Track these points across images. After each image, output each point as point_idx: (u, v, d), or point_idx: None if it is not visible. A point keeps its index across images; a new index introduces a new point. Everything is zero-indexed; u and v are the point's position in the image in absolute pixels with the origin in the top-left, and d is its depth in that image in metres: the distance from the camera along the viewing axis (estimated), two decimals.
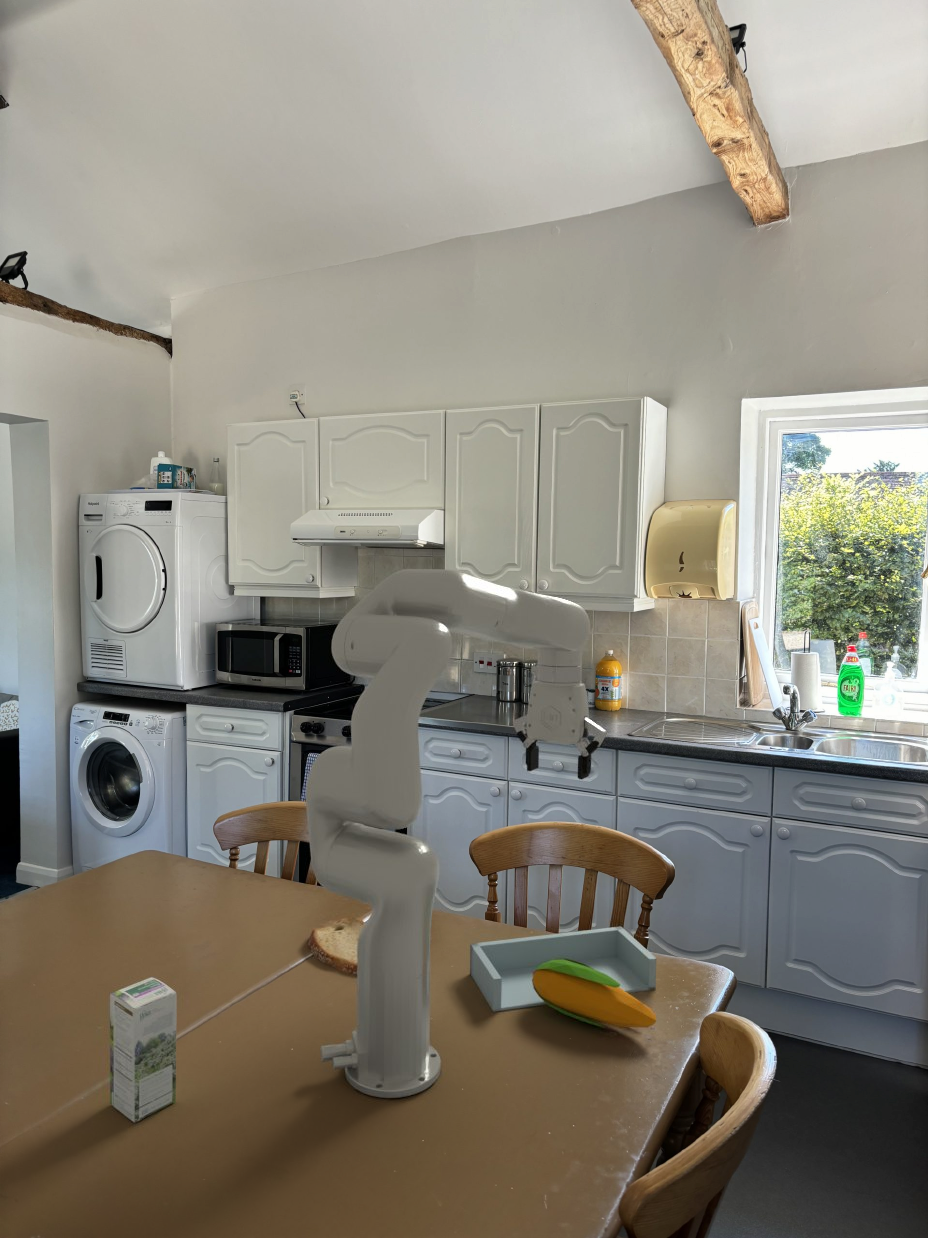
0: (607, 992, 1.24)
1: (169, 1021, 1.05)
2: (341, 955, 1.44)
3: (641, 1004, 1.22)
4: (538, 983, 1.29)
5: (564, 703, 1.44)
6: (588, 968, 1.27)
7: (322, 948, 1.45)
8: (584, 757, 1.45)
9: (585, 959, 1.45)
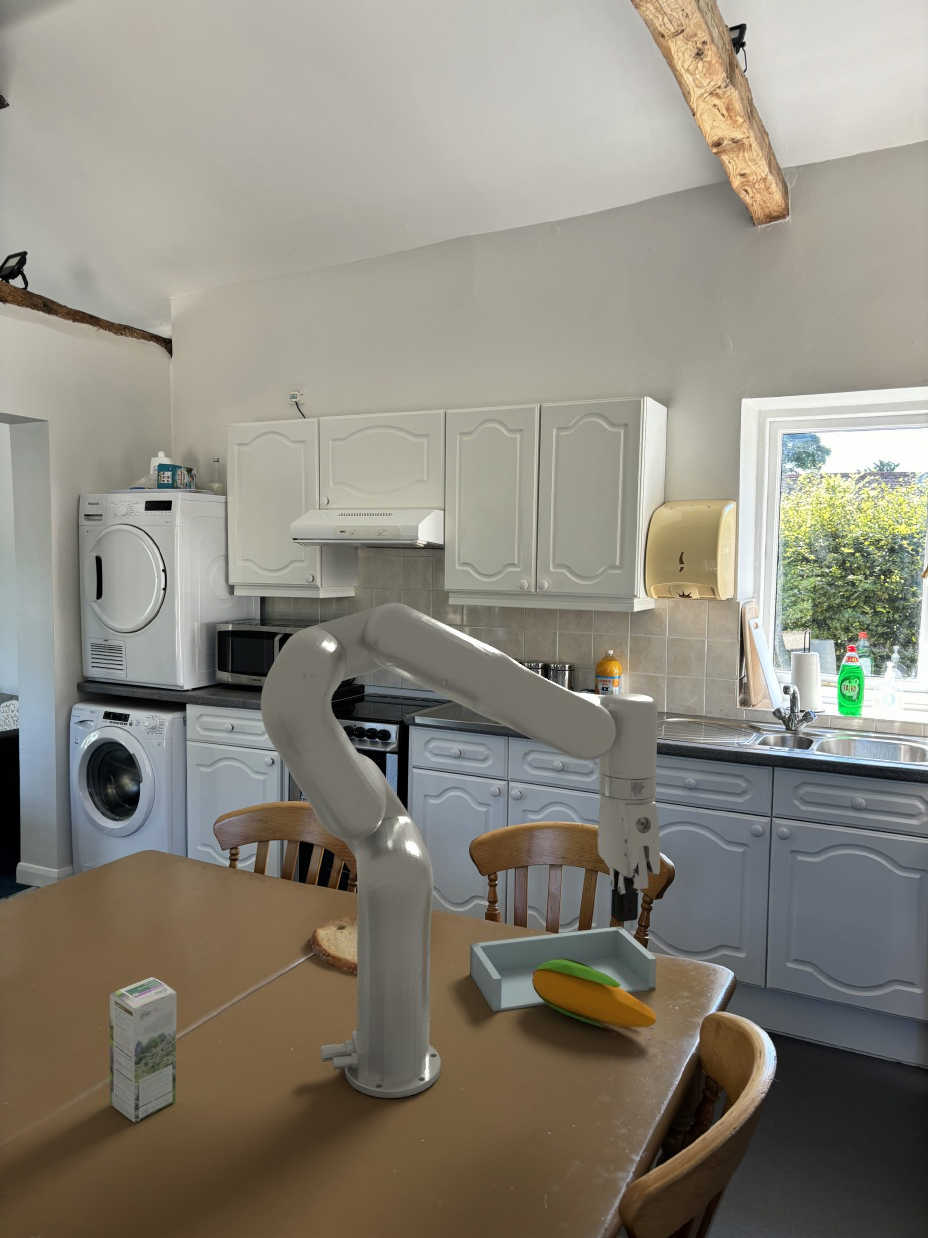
0: (607, 992, 1.24)
1: (169, 1021, 1.05)
2: (342, 954, 1.44)
3: (641, 1004, 1.22)
4: (538, 983, 1.29)
5: None
6: (588, 968, 1.27)
7: (323, 948, 1.45)
8: None
9: (585, 959, 1.45)
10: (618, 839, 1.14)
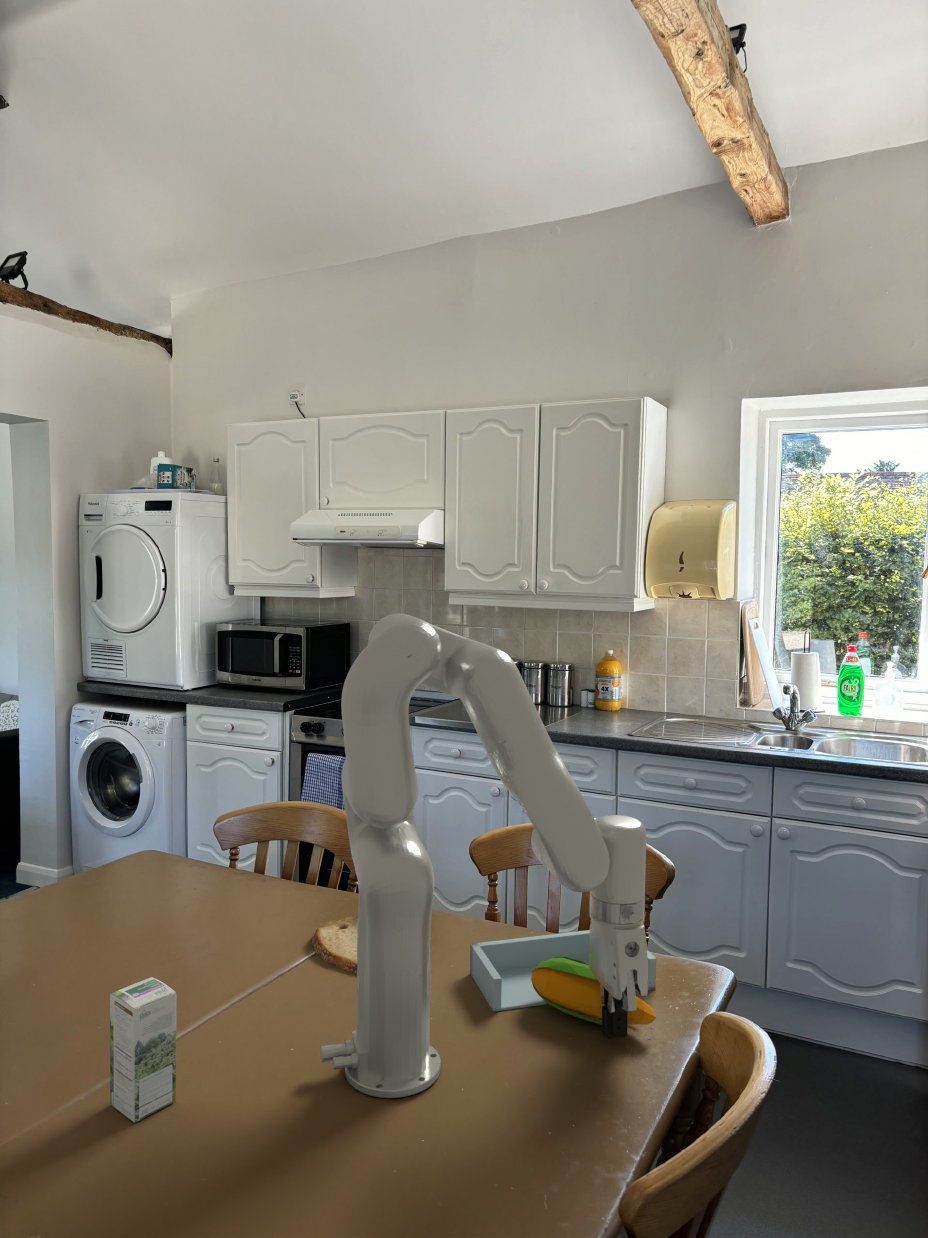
0: None
1: (169, 1021, 1.05)
2: (343, 953, 1.44)
3: (641, 1001, 1.23)
4: (537, 982, 1.30)
5: None
6: (587, 966, 1.28)
7: (325, 947, 1.46)
8: None
9: (585, 959, 1.45)
10: (607, 961, 1.17)
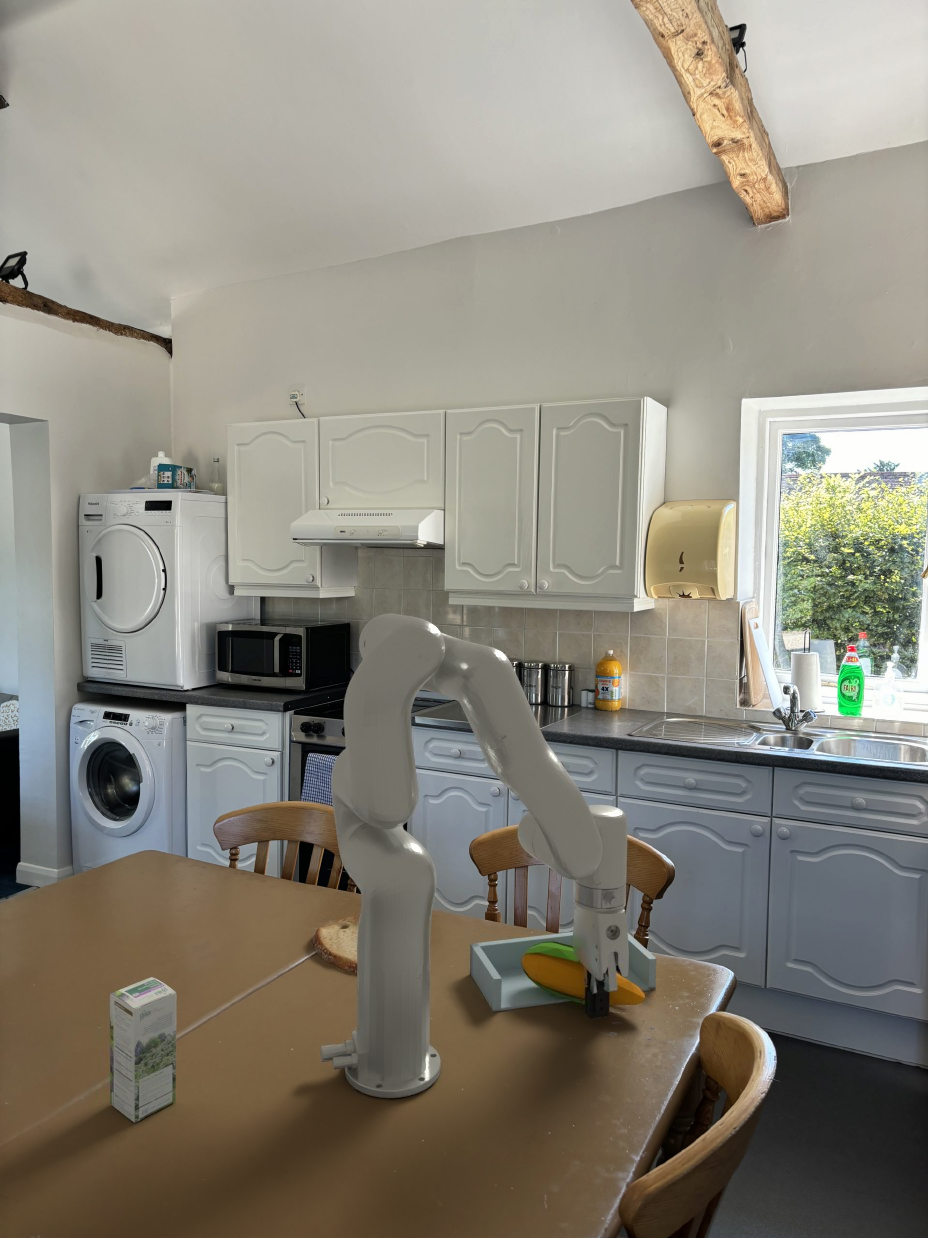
0: None
1: (169, 1021, 1.05)
2: (343, 953, 1.44)
3: (630, 983, 1.28)
4: (528, 967, 1.34)
5: None
6: None
7: (325, 946, 1.46)
8: None
9: None
10: (590, 944, 1.22)
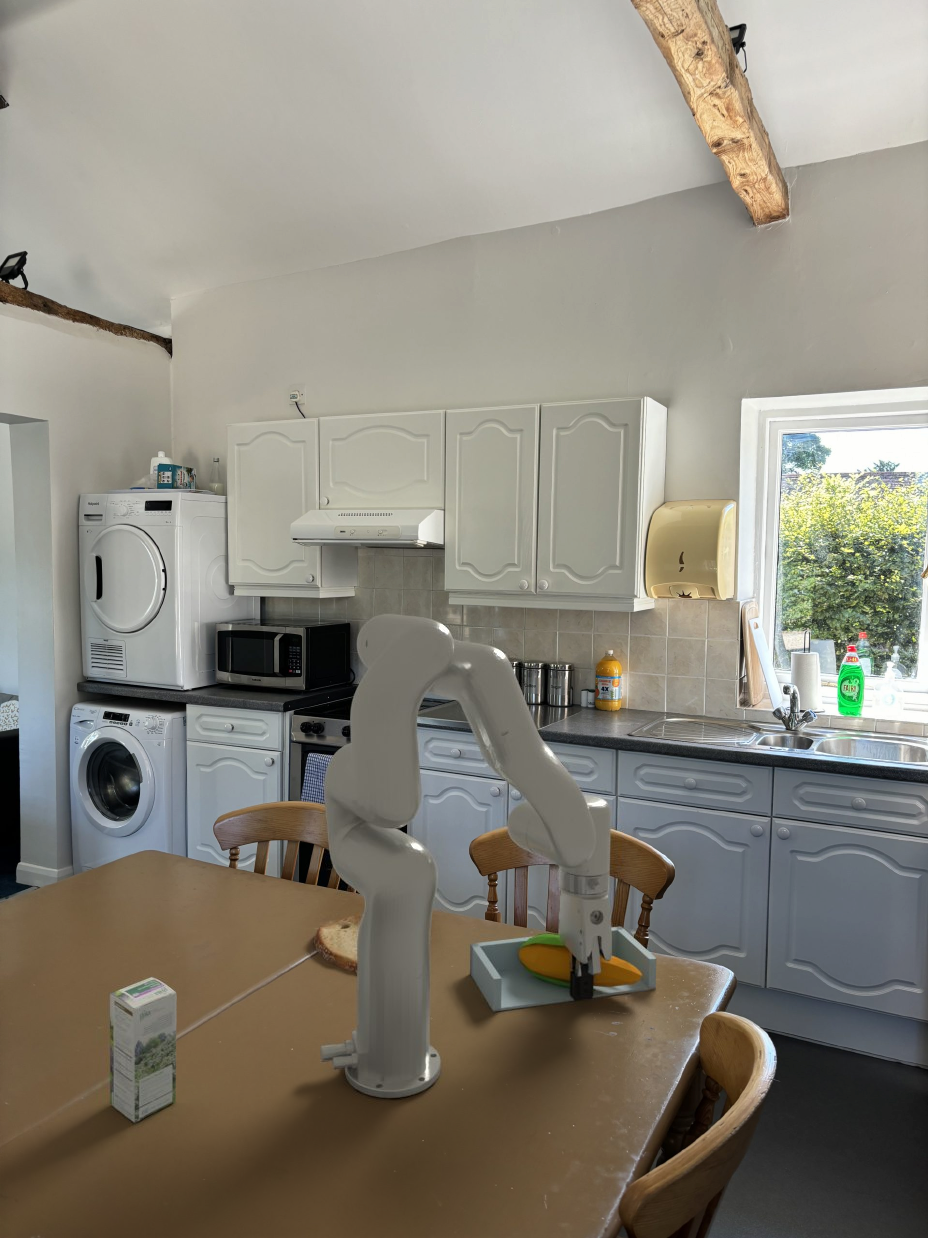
0: None
1: (169, 1021, 1.05)
2: (344, 953, 1.44)
3: (627, 963, 1.33)
4: (527, 958, 1.37)
5: None
6: None
7: (326, 946, 1.46)
8: None
9: None
10: (574, 929, 1.28)
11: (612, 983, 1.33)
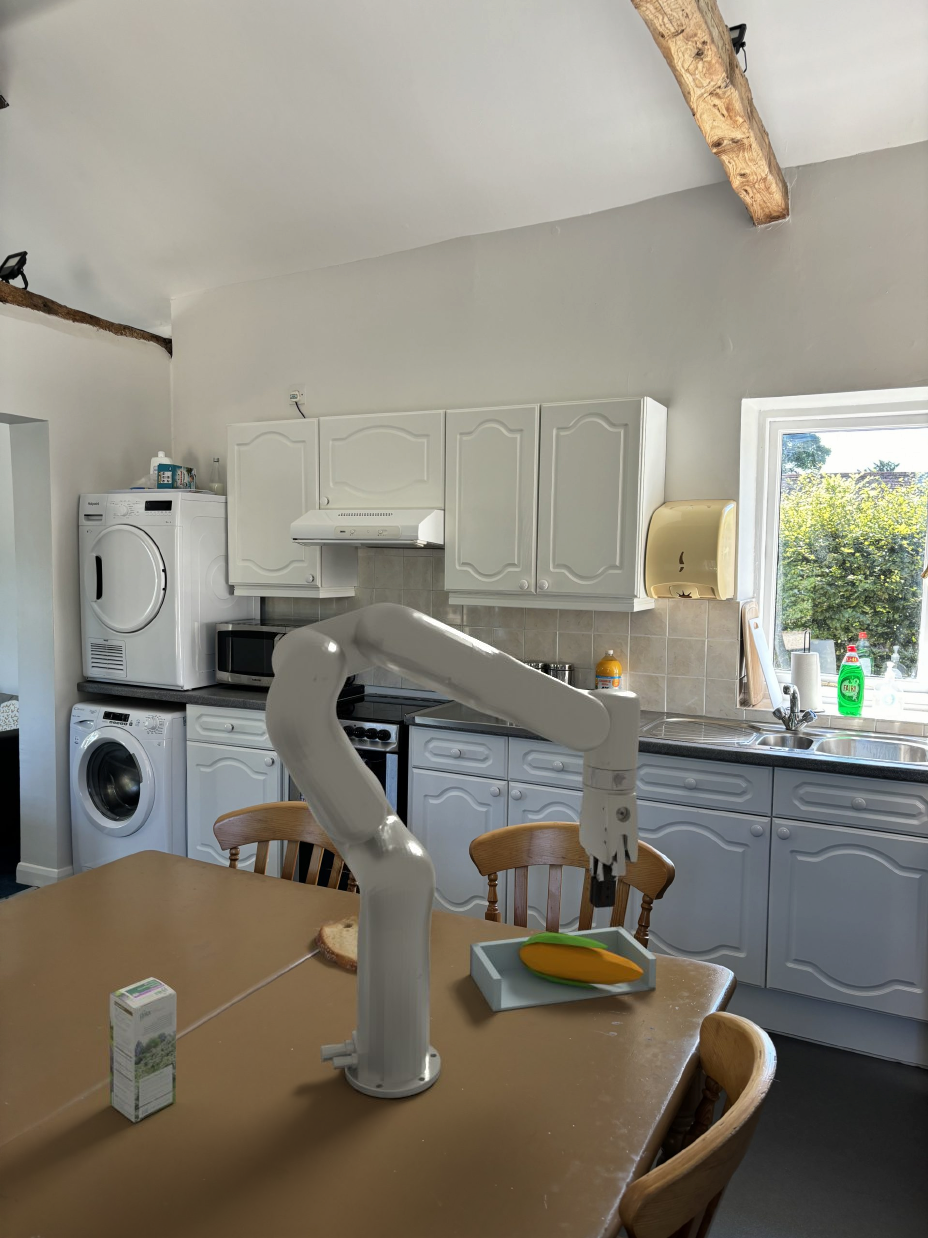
0: (596, 954, 1.35)
1: (169, 1021, 1.05)
2: (346, 952, 1.44)
3: (628, 960, 1.34)
4: (528, 957, 1.38)
5: None
6: (574, 936, 1.38)
7: (328, 945, 1.46)
8: None
9: None
10: (598, 827, 1.19)
11: (613, 981, 1.34)
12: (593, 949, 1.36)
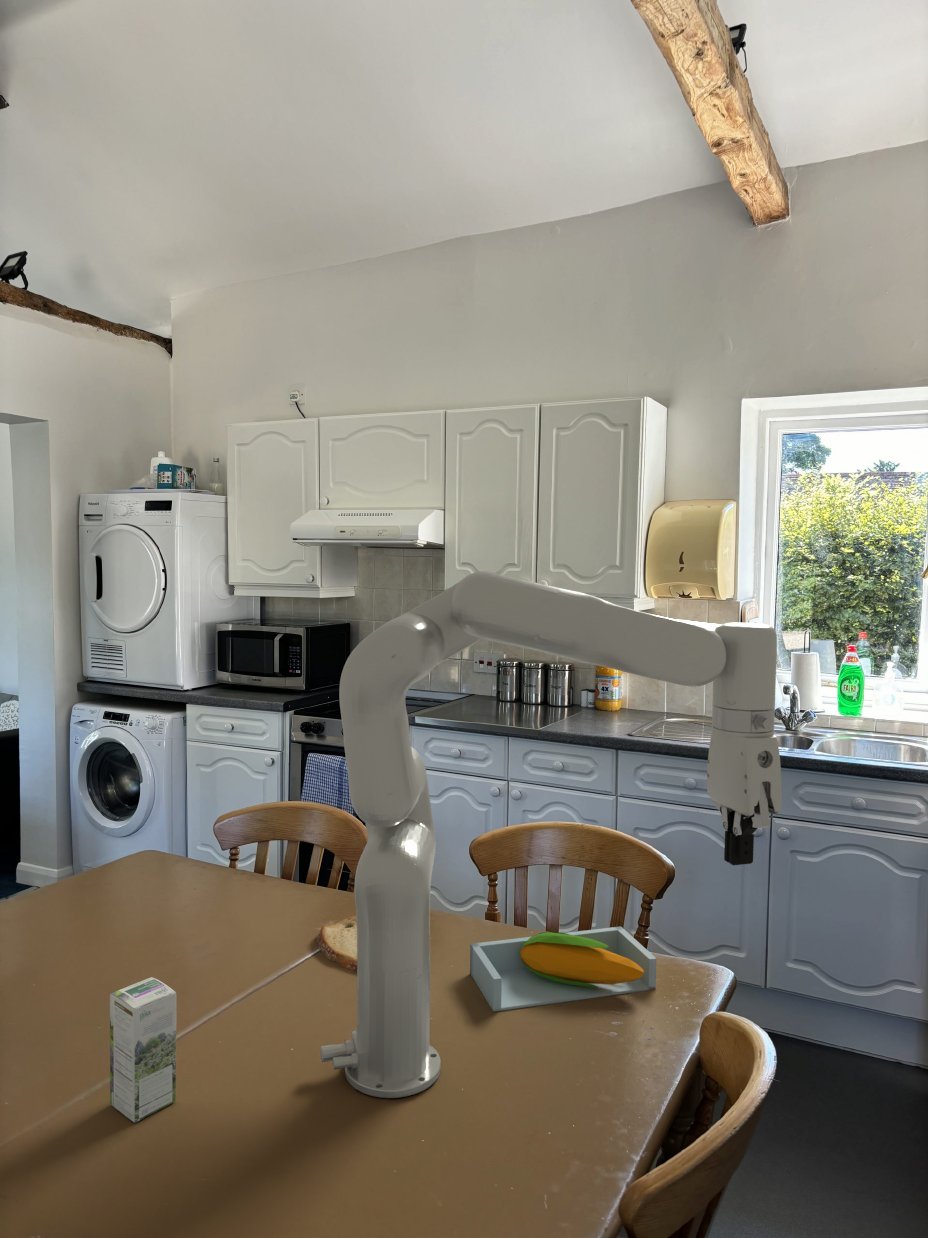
0: (597, 954, 1.35)
1: (169, 1021, 1.05)
2: (346, 952, 1.45)
3: (629, 960, 1.34)
4: (529, 957, 1.38)
5: None
6: (575, 936, 1.38)
7: (328, 945, 1.47)
8: None
9: None
10: (736, 775, 1.07)
11: (615, 980, 1.34)
12: (594, 949, 1.36)
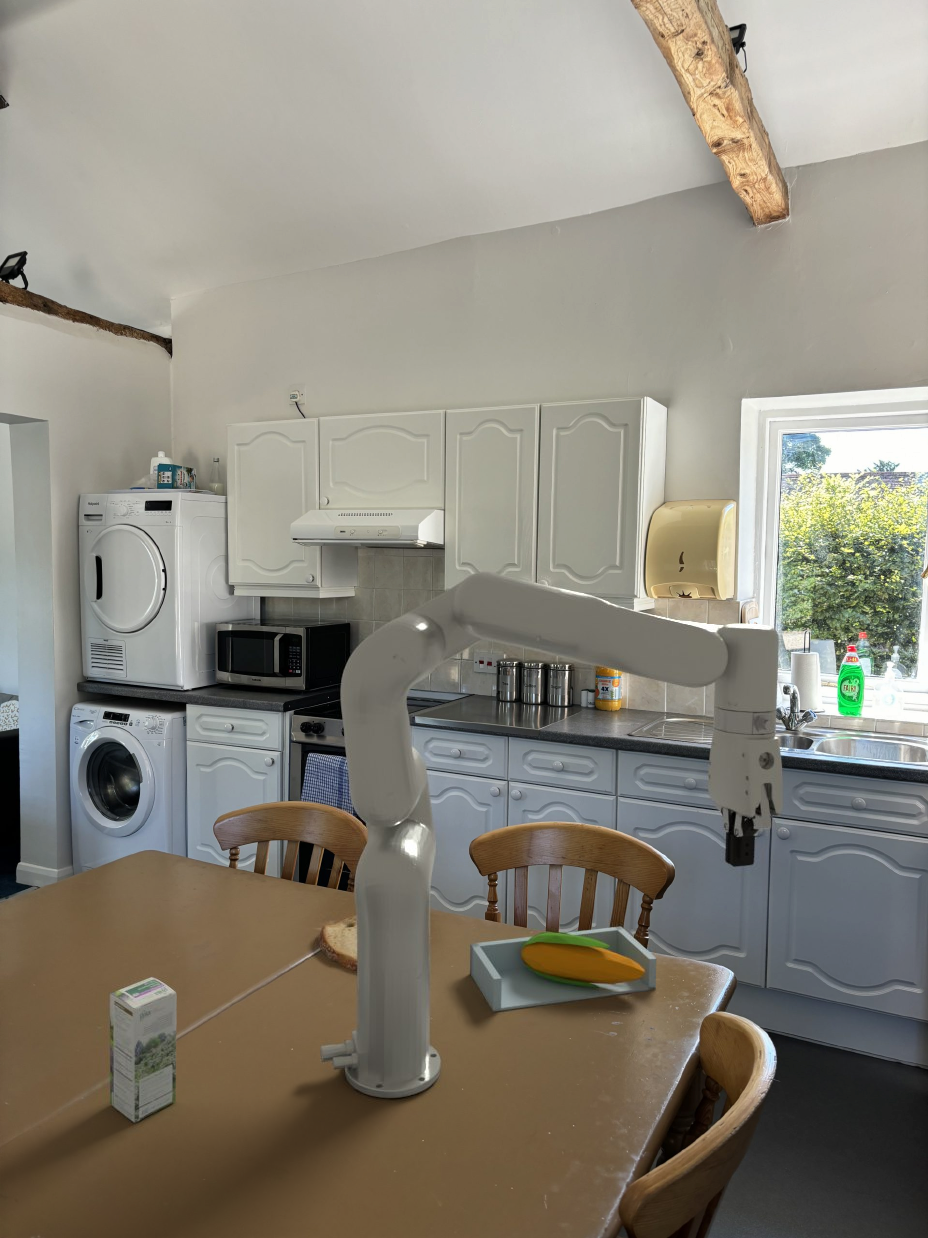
0: (598, 953, 1.35)
1: (169, 1021, 1.05)
2: (347, 951, 1.45)
3: (630, 960, 1.35)
4: (530, 957, 1.38)
5: None
6: (576, 936, 1.38)
7: (329, 944, 1.47)
8: None
9: None
10: (737, 777, 1.07)
11: (615, 980, 1.34)
12: (595, 948, 1.36)
